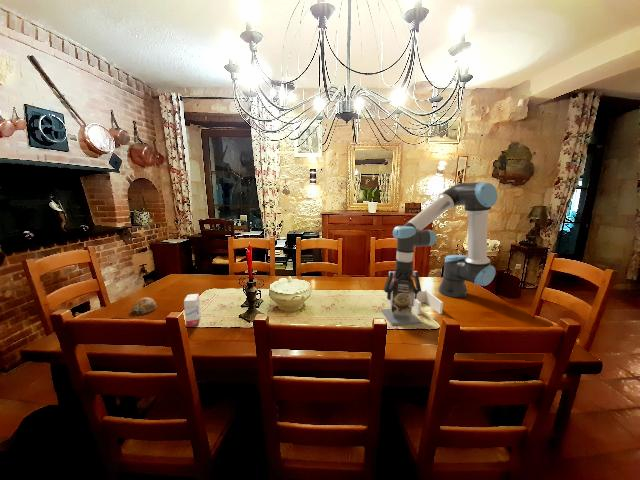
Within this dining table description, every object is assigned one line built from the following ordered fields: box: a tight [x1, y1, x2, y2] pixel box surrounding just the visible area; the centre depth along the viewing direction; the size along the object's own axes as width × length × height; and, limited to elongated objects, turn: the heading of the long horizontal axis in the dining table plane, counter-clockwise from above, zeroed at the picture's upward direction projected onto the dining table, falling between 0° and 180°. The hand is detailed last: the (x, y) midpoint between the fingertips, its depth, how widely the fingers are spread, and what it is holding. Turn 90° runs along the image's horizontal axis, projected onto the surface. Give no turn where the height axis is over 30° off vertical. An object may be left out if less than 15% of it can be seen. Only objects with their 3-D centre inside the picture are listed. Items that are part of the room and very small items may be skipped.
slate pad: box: [381, 308, 422, 326], centre depth 126 cm, size 14×14×1 cm
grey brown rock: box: [131, 296, 158, 315], centre depth 130 cm, size 10×10×8 cm
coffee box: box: [390, 276, 415, 316], centre depth 124 cm, size 9×6×16 cm
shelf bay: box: [412, 290, 444, 315], centre depth 137 cm, size 12×16×6 cm
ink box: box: [183, 293, 202, 327], centre depth 118 cm, size 9×5×12 cm, turn 16°
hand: (401, 305), depth 125 cm, fingers closed on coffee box, 10 cm apart
